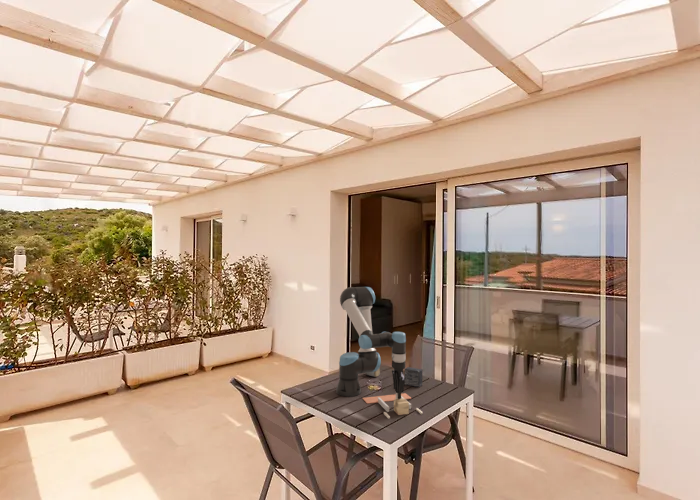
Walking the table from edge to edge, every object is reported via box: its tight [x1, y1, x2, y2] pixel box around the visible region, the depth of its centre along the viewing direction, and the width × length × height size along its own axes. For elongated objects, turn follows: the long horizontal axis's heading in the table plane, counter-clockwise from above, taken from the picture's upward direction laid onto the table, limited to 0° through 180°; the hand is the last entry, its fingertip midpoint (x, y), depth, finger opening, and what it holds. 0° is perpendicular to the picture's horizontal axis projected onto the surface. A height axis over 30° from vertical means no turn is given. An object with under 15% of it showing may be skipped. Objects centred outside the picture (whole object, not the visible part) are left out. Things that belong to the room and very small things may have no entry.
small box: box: [404, 366, 423, 388], centre depth 239 cm, size 11×6×10 cm, turn 58°
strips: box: [383, 407, 424, 419], centre depth 194 cm, size 6×20×1 cm, turn 107°
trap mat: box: [362, 392, 412, 405], centre depth 215 cm, size 8×28×1 cm, turn 107°
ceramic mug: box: [365, 368, 381, 378], centre depth 257 cm, size 11×8×8 cm
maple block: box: [393, 398, 410, 416], centre depth 196 cm, size 6×6×6 cm
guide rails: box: [378, 396, 412, 413], centre depth 205 cm, size 14×14×2 cm
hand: (398, 403), depth 200 cm, fingers closed
